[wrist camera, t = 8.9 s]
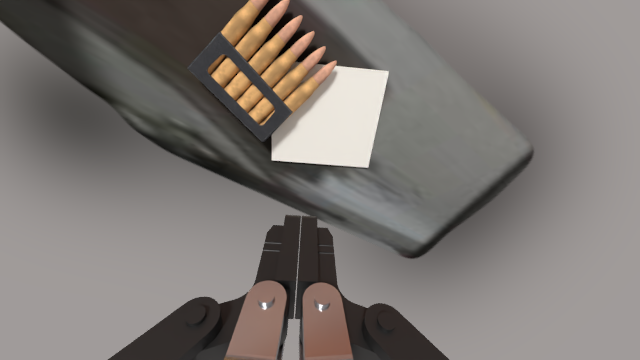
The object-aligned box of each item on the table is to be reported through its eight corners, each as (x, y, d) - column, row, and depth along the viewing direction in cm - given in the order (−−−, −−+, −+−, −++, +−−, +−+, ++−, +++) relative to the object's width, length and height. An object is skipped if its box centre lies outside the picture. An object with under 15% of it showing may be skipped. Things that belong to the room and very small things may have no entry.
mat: (272, 159, 32) (271, 160, 31) (271, 59, 26) (270, 59, 25) (367, 166, 32) (368, 167, 32) (387, 71, 26) (388, 71, 26)
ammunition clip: (266, 138, 29) (341, 68, 26) (263, 143, 28) (342, 69, 24) (195, 67, 26) (270, -26, 22) (186, 67, 24) (266, -33, 21)
